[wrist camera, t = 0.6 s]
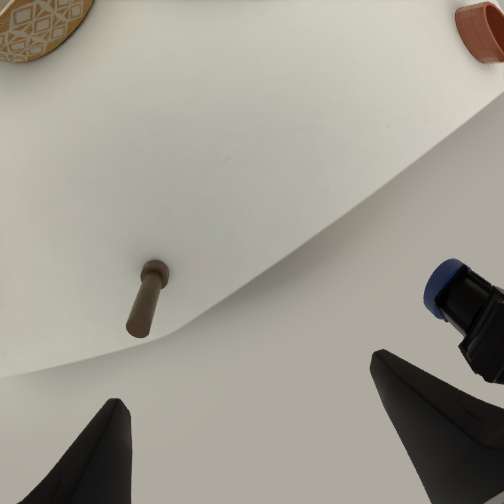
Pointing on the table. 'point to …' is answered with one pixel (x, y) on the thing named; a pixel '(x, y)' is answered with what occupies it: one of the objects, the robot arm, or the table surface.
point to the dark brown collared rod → (147, 298)
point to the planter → (37, 26)
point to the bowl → (482, 31)
